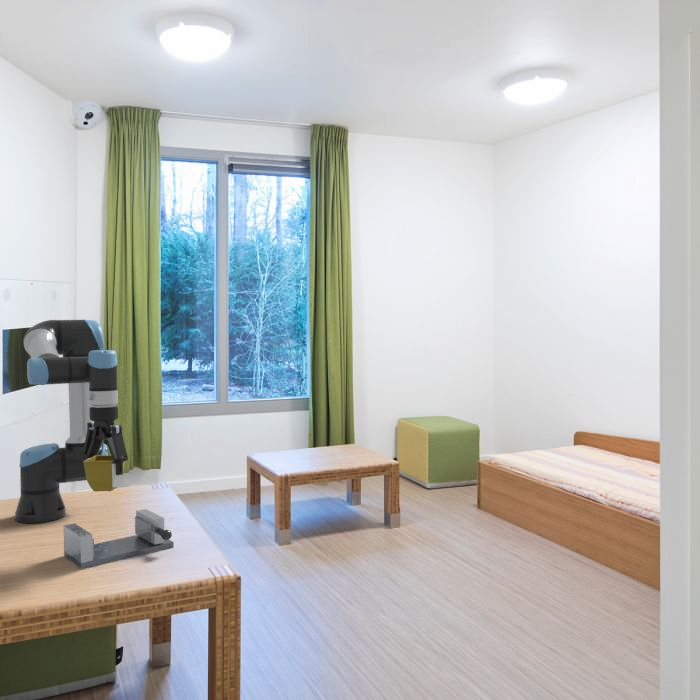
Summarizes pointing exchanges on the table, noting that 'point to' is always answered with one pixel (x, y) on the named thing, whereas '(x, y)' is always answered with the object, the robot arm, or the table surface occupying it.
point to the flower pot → (100, 472)
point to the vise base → (104, 547)
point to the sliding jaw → (151, 527)
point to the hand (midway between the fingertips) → (105, 483)
